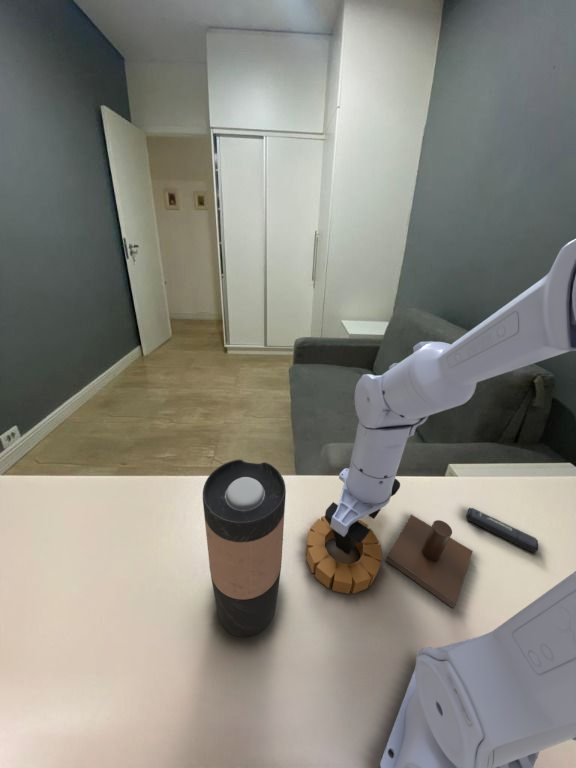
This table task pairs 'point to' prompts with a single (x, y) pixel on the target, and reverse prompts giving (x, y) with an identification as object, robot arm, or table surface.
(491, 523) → the usb stick
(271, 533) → the travel mug
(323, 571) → the notched ring
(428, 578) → the post stand
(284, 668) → the table surface
